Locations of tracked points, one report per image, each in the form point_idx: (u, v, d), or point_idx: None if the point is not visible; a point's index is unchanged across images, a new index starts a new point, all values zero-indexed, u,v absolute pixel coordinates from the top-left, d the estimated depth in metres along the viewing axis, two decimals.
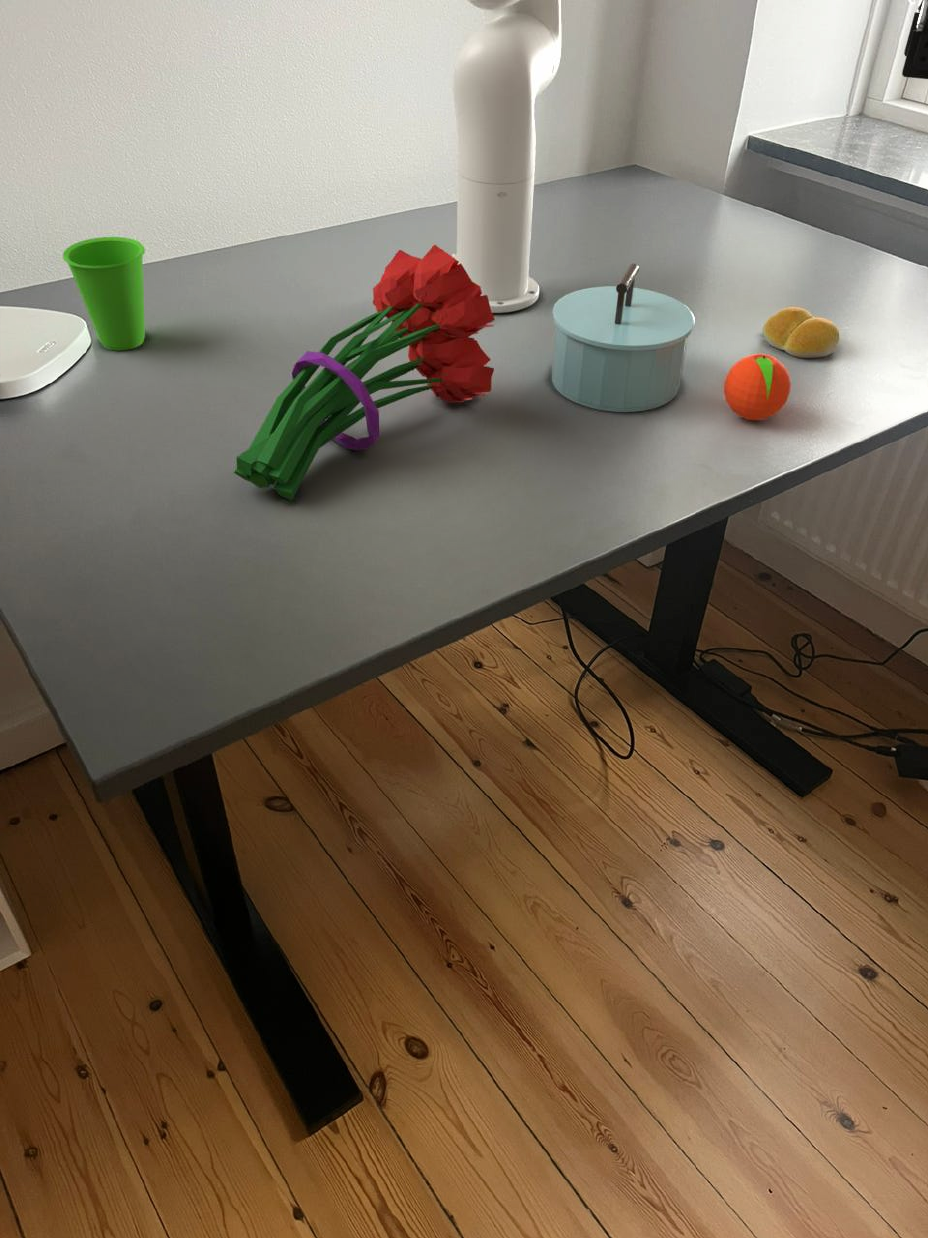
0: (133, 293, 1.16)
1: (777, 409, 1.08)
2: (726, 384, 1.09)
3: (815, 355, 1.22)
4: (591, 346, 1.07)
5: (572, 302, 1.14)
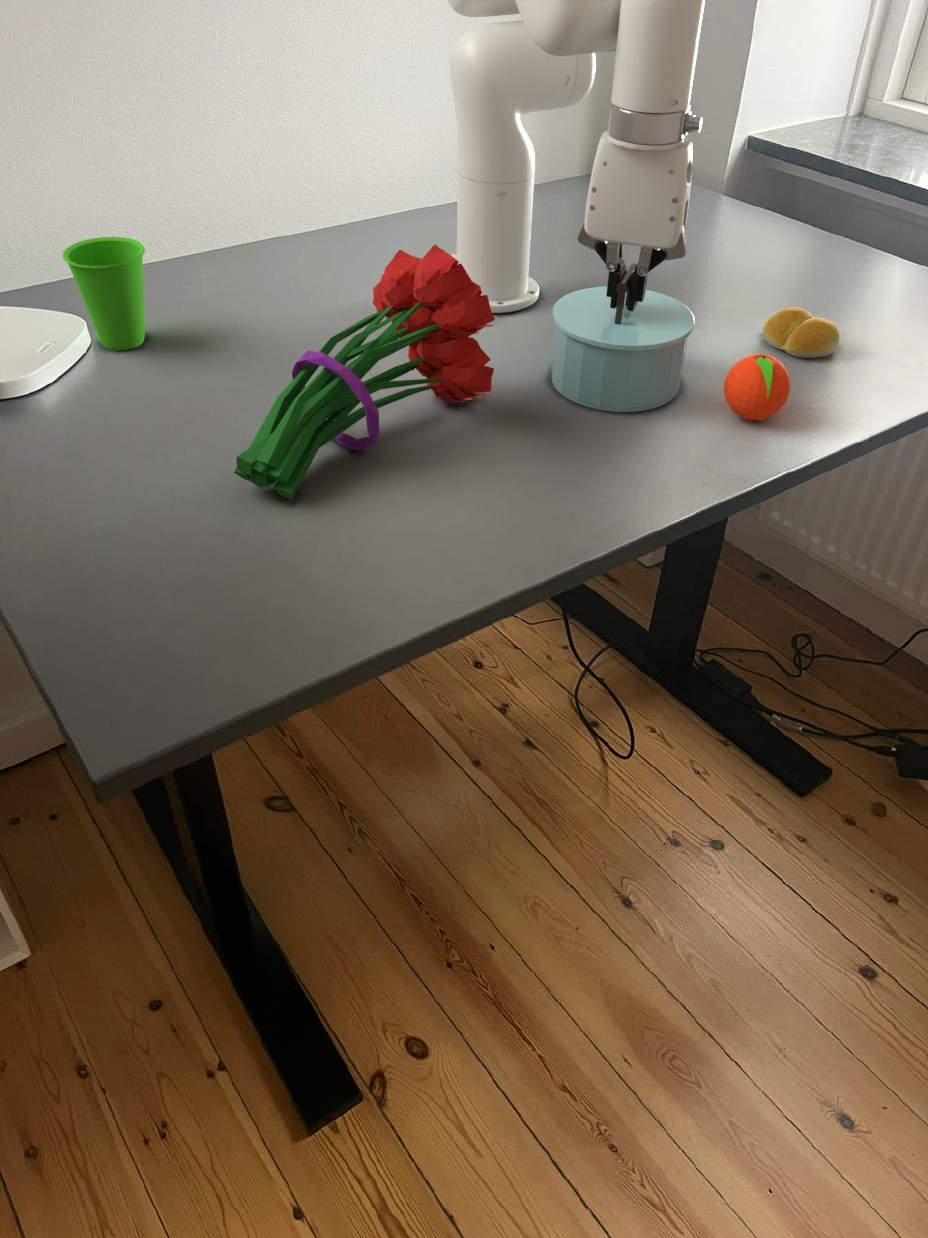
0: (133, 293, 1.16)
1: (777, 409, 1.08)
2: (726, 384, 1.09)
3: (815, 355, 1.22)
4: (591, 346, 1.07)
5: (572, 302, 1.14)
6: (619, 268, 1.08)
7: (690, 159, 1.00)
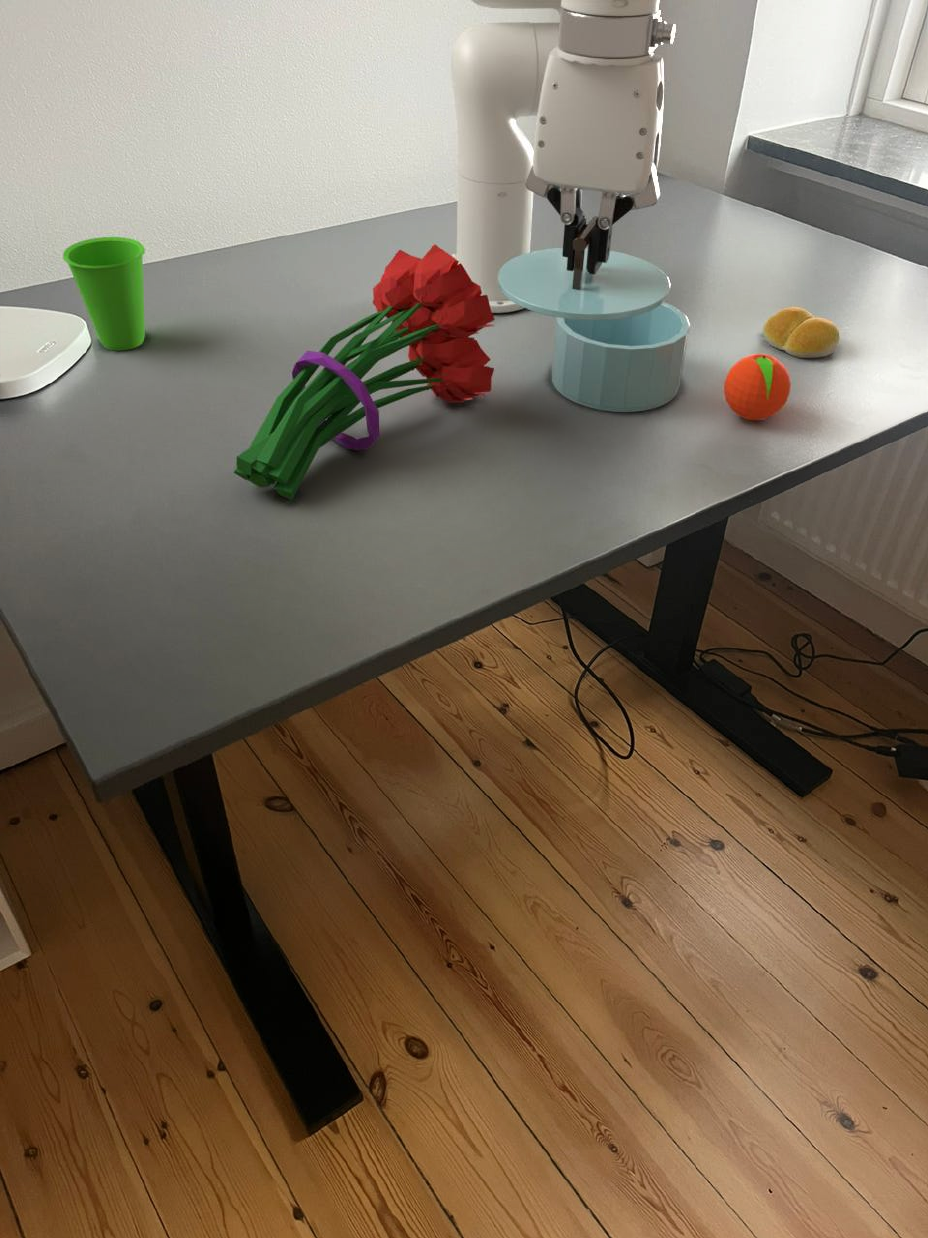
0: (133, 293, 1.16)
1: (777, 409, 1.08)
2: (726, 384, 1.09)
3: (815, 355, 1.22)
4: (591, 346, 1.07)
5: (522, 265, 0.94)
6: (577, 220, 0.88)
7: (661, 79, 0.80)
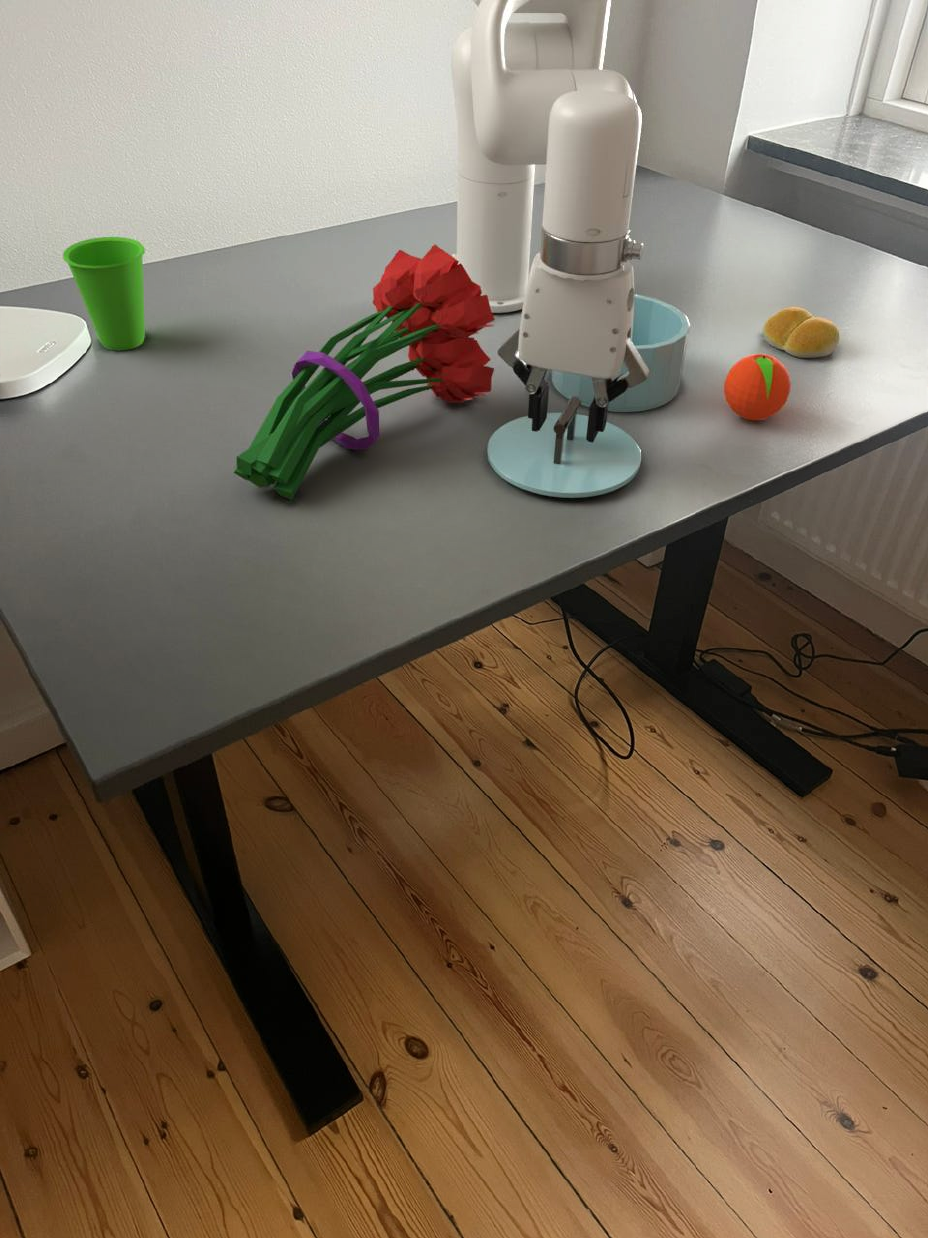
0: (133, 293, 1.16)
1: (777, 409, 1.08)
2: (726, 384, 1.09)
3: (815, 355, 1.22)
4: None
5: (510, 434, 1.05)
6: (540, 390, 0.98)
7: (631, 286, 0.90)
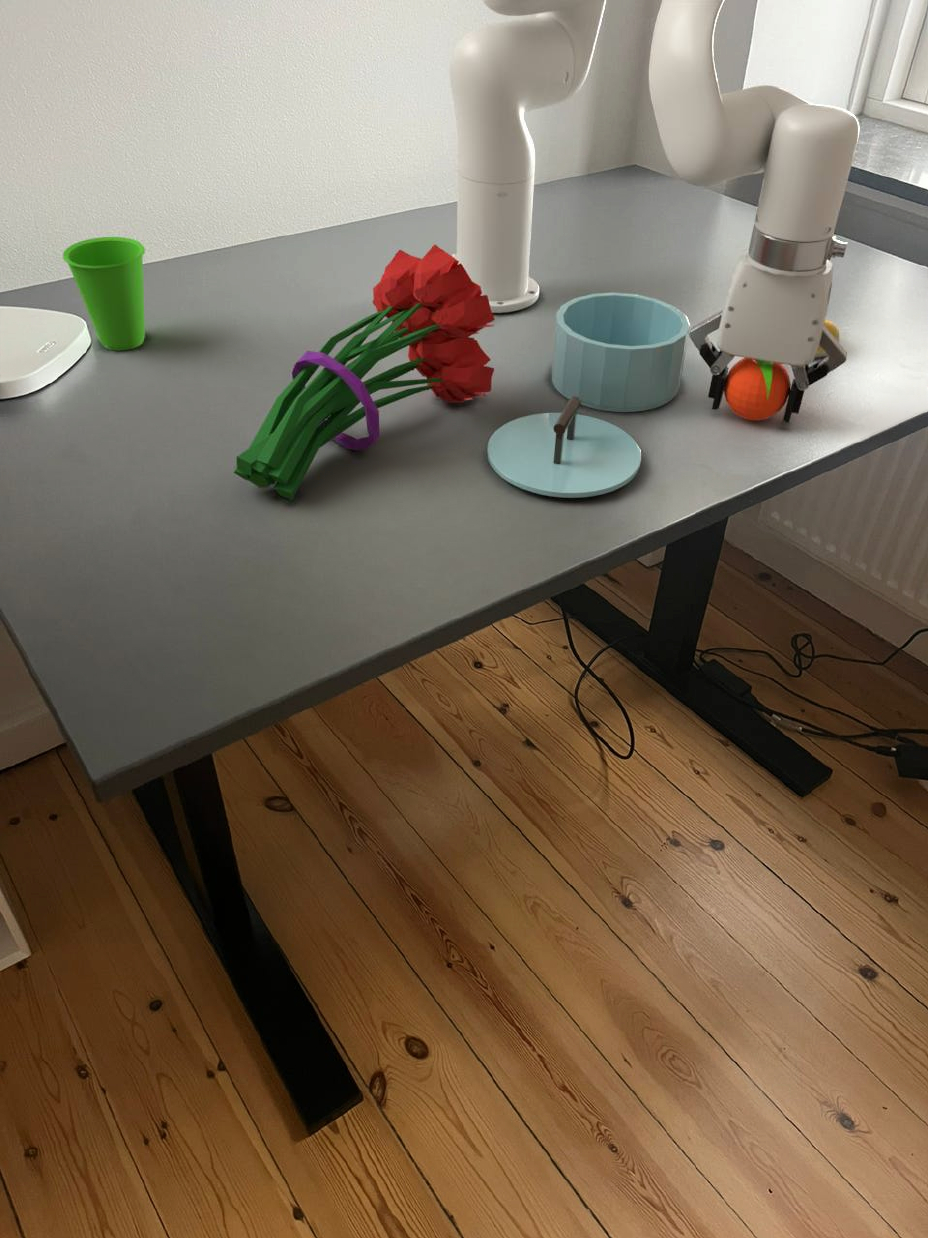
0: (133, 293, 1.16)
1: (777, 409, 1.08)
2: (726, 384, 1.09)
3: None
4: (591, 346, 1.07)
5: (510, 434, 1.05)
6: (723, 372, 1.08)
7: (831, 282, 0.99)
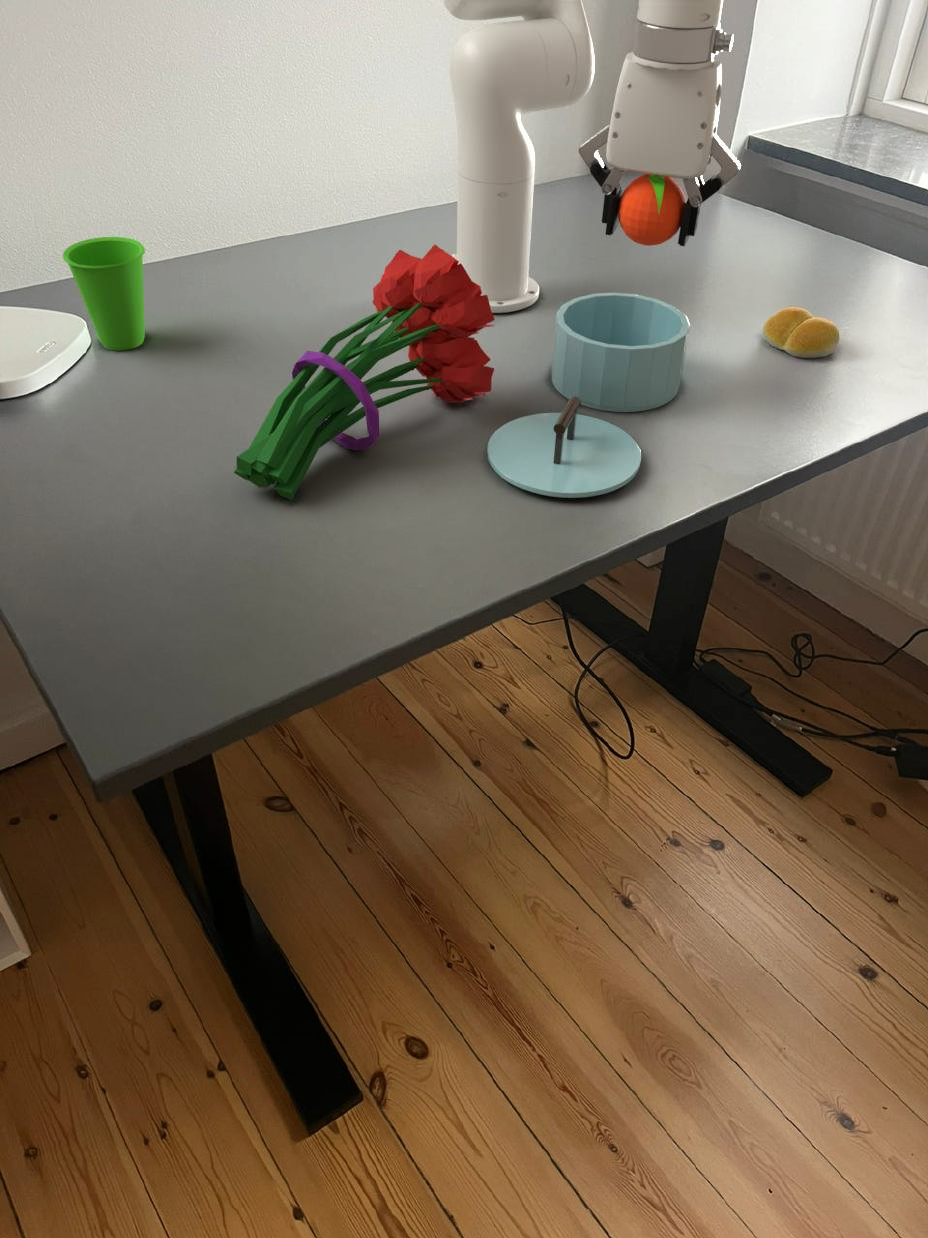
0: (133, 293, 1.16)
1: (672, 230, 1.03)
2: (619, 206, 1.04)
3: (815, 355, 1.22)
4: (591, 346, 1.07)
5: (510, 434, 1.05)
6: (615, 191, 1.03)
7: (719, 81, 0.95)
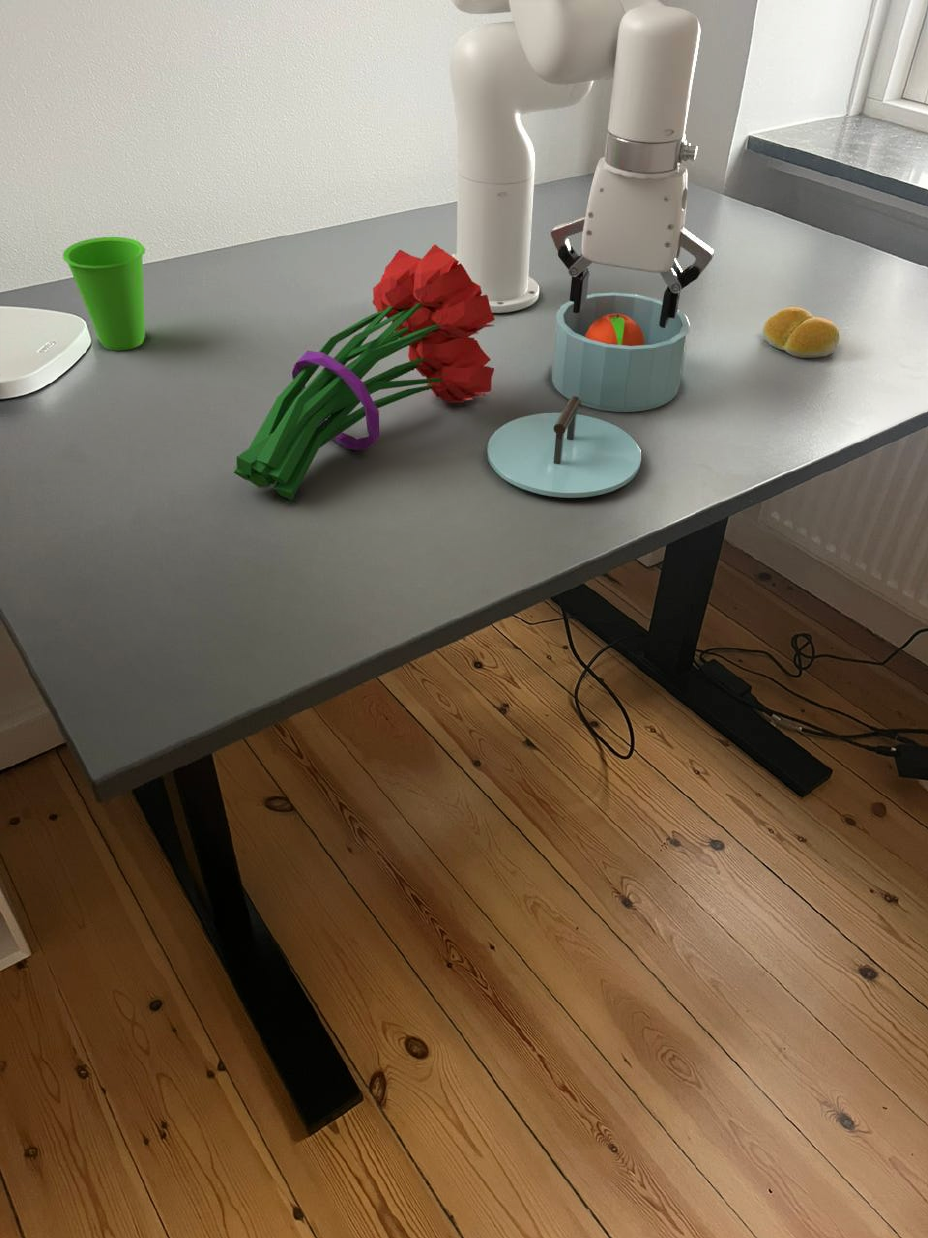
0: (133, 293, 1.16)
1: None
2: None
3: (815, 355, 1.22)
4: (591, 346, 1.07)
5: (510, 434, 1.05)
6: (581, 273, 1.10)
7: (685, 186, 1.02)
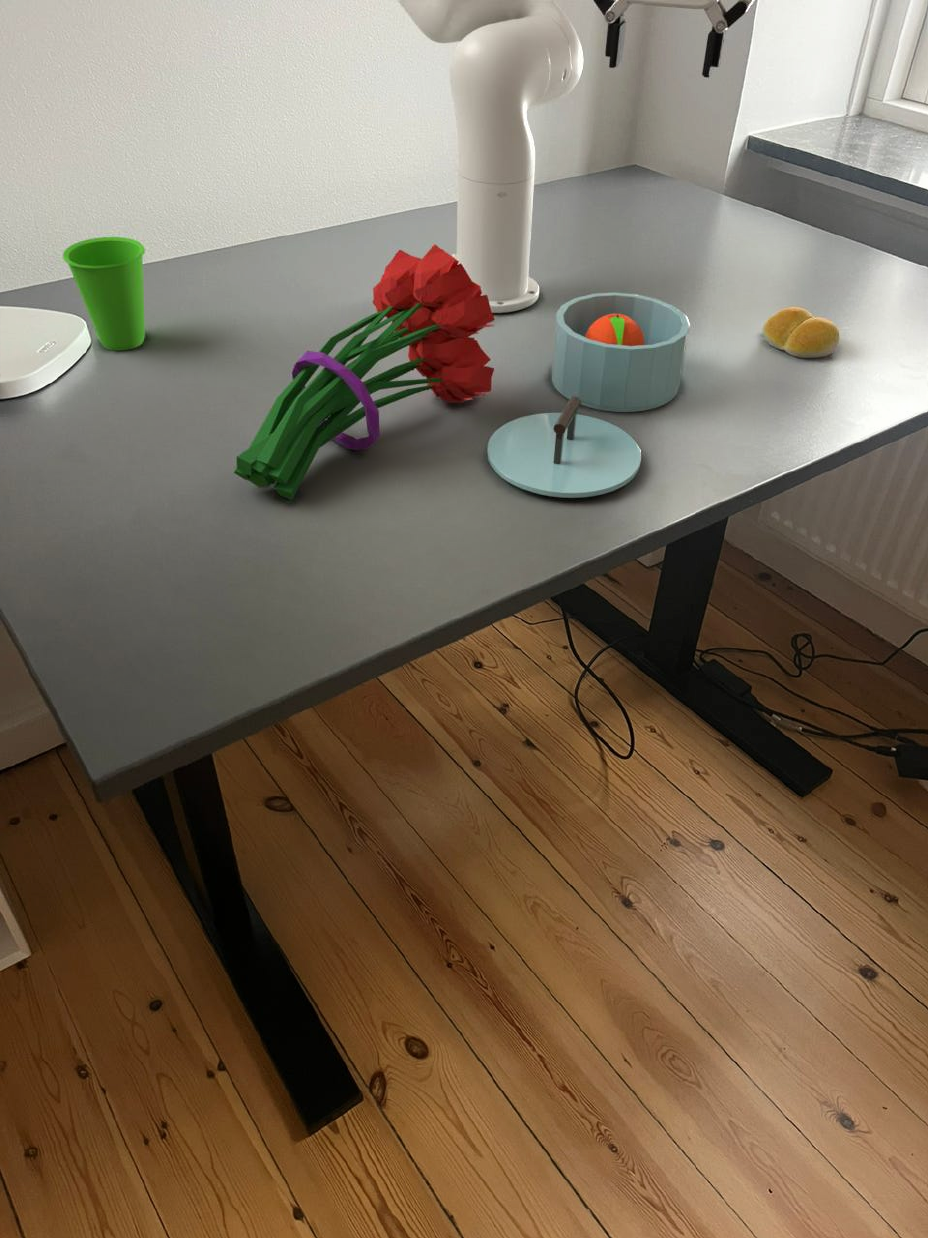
0: (133, 293, 1.16)
1: None
2: None
3: (815, 355, 1.22)
4: (591, 346, 1.07)
5: (510, 434, 1.05)
6: (619, 20, 1.02)
7: None
